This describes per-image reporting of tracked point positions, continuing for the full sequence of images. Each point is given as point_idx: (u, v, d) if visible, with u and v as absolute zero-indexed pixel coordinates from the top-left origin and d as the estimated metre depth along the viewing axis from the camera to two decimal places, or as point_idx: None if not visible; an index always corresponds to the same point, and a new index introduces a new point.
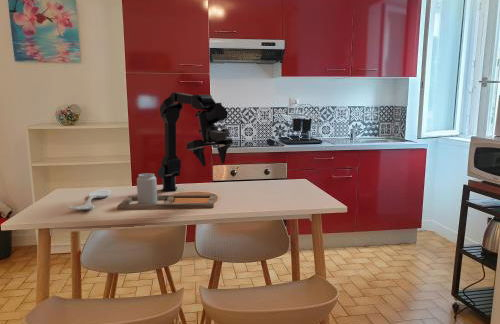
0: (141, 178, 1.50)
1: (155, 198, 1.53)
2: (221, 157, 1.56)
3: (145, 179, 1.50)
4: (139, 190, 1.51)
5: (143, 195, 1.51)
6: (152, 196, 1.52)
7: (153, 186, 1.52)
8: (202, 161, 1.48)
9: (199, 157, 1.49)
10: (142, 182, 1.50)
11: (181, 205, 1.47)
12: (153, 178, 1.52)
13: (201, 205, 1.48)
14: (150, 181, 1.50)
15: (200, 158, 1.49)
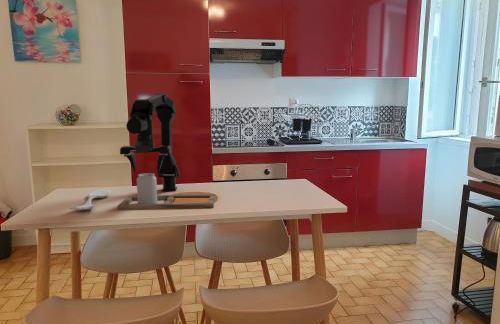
0: (141, 178, 1.50)
1: (155, 198, 1.53)
2: None
3: (145, 179, 1.50)
4: (139, 190, 1.51)
5: (143, 195, 1.51)
6: (152, 196, 1.52)
7: (153, 186, 1.52)
8: None
9: None
10: (142, 182, 1.50)
11: (181, 205, 1.47)
12: (153, 178, 1.52)
13: (201, 205, 1.48)
14: (150, 181, 1.50)
15: None
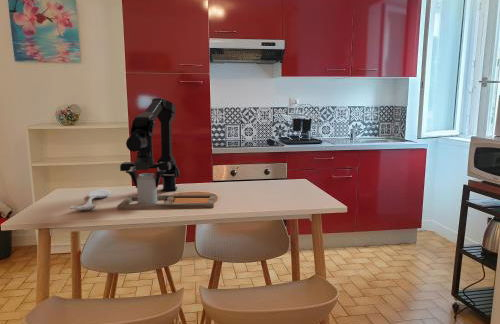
0: (141, 178, 1.50)
1: (155, 198, 1.53)
2: None
3: (145, 179, 1.50)
4: (139, 190, 1.51)
5: (143, 195, 1.51)
6: (152, 196, 1.52)
7: (153, 186, 1.52)
8: None
9: None
10: (142, 182, 1.50)
11: (181, 205, 1.47)
12: (153, 178, 1.52)
13: (201, 205, 1.48)
14: (150, 181, 1.50)
15: None
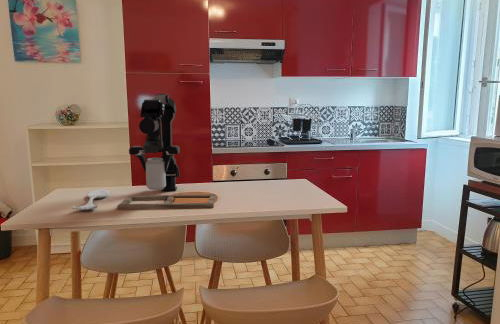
0: (150, 162, 1.49)
1: (164, 182, 1.52)
2: None
3: (154, 163, 1.49)
4: (148, 174, 1.50)
5: (152, 180, 1.50)
6: (161, 180, 1.51)
7: (162, 170, 1.51)
8: None
9: None
10: (151, 166, 1.49)
11: (181, 205, 1.47)
12: (162, 162, 1.51)
13: (201, 205, 1.48)
14: (159, 165, 1.50)
15: None
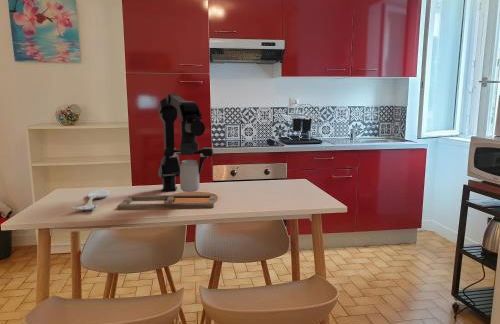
0: (185, 164, 1.50)
1: (198, 184, 1.53)
2: None
3: (189, 165, 1.50)
4: (182, 176, 1.51)
5: (186, 182, 1.50)
6: (195, 182, 1.52)
7: (196, 172, 1.52)
8: None
9: None
10: (186, 168, 1.50)
11: (181, 205, 1.47)
12: (196, 164, 1.52)
13: (201, 205, 1.48)
14: (194, 167, 1.50)
15: None
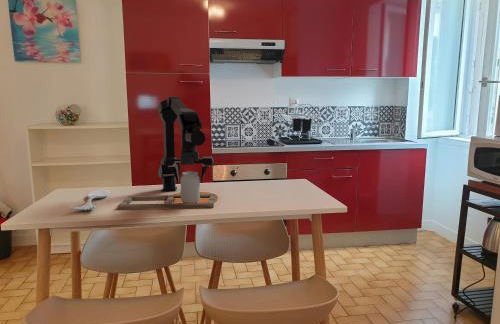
0: (185, 176, 1.51)
1: (198, 196, 1.54)
2: None
3: (189, 178, 1.50)
4: (183, 188, 1.51)
5: (187, 194, 1.51)
6: (195, 194, 1.52)
7: (197, 185, 1.52)
8: (176, 178, 1.53)
9: None
10: (186, 180, 1.50)
11: (181, 205, 1.47)
12: (197, 177, 1.52)
13: (201, 205, 1.48)
14: (194, 180, 1.51)
15: None
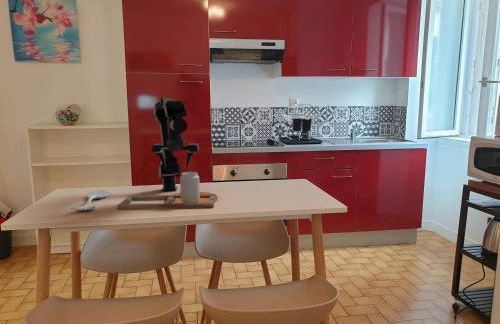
0: (185, 176, 1.51)
1: (198, 196, 1.54)
2: (187, 161, 1.62)
3: (189, 177, 1.50)
4: (183, 188, 1.52)
5: (187, 194, 1.51)
6: (195, 194, 1.52)
7: (196, 185, 1.52)
8: (163, 163, 1.61)
9: None
10: (186, 180, 1.50)
11: (181, 205, 1.47)
12: (196, 177, 1.52)
13: (201, 205, 1.48)
14: (194, 180, 1.51)
15: None
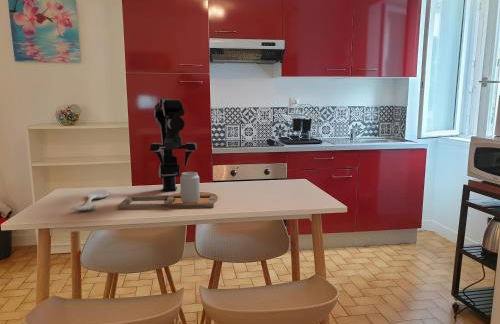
0: (185, 176, 1.51)
1: (198, 196, 1.54)
2: (185, 160, 1.63)
3: (189, 177, 1.50)
4: (183, 188, 1.52)
5: (187, 194, 1.51)
6: (195, 194, 1.52)
7: (196, 185, 1.52)
8: (161, 162, 1.62)
9: None
10: (186, 180, 1.50)
11: (181, 205, 1.47)
12: (196, 177, 1.52)
13: (201, 205, 1.48)
14: (194, 180, 1.51)
15: None
